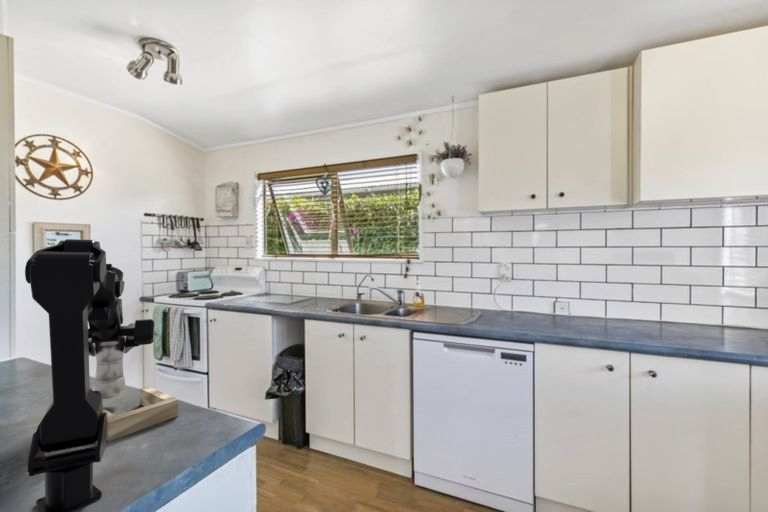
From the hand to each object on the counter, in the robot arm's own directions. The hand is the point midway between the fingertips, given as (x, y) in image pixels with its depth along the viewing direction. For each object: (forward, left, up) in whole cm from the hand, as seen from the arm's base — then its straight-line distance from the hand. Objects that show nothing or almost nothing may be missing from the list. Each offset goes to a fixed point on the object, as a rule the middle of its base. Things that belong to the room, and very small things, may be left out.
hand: (110, 353), depth 91 cm
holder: (-12, +1, -13) cm, 18 cm away
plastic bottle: (-1, +1, -11) cm, 11 cm away
